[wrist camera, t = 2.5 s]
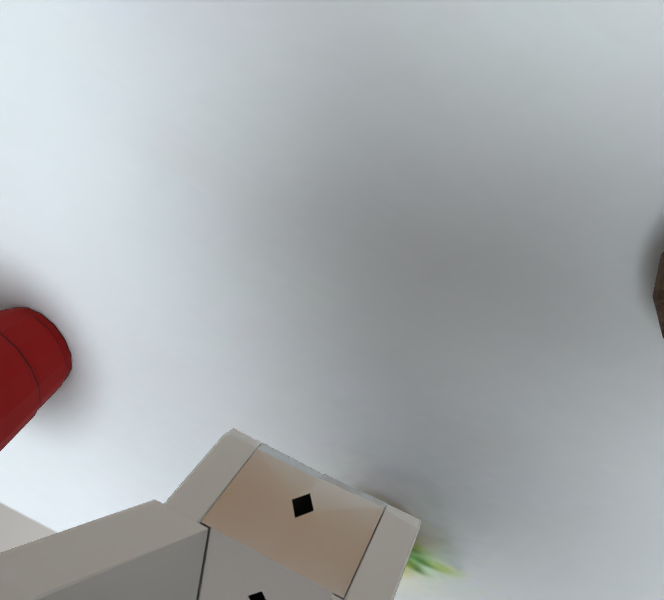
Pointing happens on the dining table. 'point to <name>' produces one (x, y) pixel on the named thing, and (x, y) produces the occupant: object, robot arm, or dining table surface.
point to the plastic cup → (28, 367)
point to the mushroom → (660, 293)
